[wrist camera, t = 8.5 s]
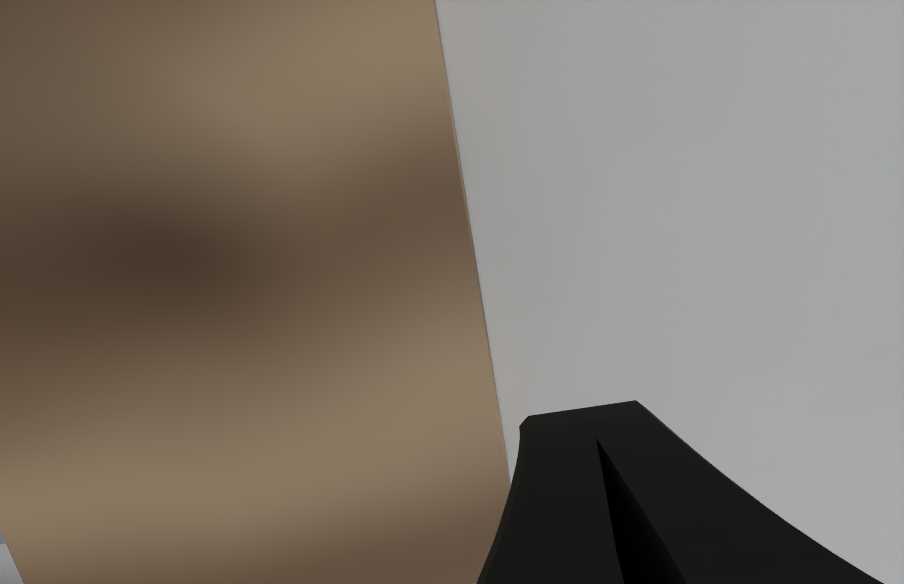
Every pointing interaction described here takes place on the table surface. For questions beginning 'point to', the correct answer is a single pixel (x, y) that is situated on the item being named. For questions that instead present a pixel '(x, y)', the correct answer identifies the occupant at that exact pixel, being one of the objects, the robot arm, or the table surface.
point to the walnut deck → (239, 298)
